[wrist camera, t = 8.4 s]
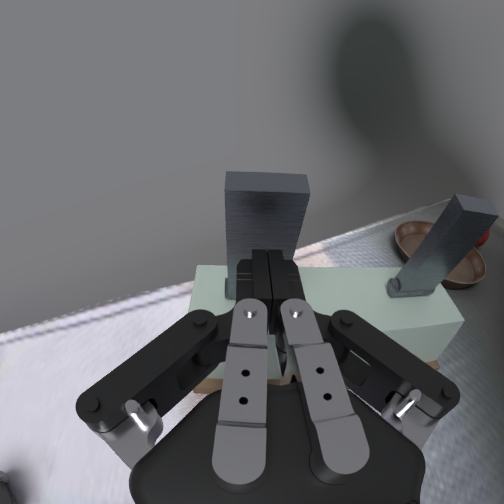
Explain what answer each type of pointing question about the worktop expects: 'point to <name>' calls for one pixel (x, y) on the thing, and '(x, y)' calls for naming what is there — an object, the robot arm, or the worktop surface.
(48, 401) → the worktop surface
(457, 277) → the plant saucer
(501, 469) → the worktop surface
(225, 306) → the block
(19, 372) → the worktop surface
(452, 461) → the worktop surface
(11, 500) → the electrical switch
